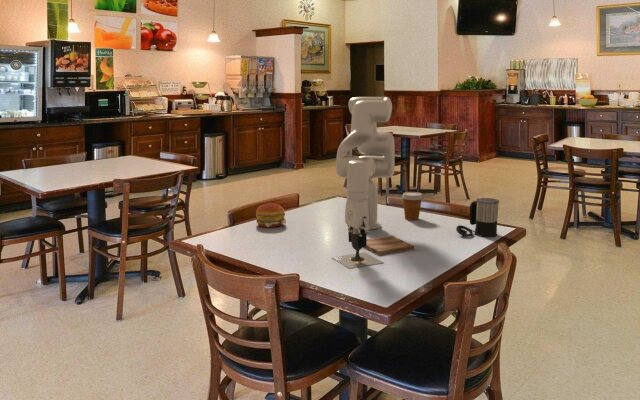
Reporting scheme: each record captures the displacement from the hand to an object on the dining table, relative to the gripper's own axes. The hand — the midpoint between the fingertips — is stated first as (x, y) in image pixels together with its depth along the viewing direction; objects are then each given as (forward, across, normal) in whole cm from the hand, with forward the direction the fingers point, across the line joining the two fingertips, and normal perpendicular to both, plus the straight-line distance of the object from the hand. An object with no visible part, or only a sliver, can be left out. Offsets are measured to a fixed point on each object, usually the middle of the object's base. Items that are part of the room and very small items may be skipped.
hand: (357, 243), depth 207 cm
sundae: (+6, 0, 0) cm, 6 cm away
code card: (+6, 0, 0) cm, 6 cm away
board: (+6, -10, +18) cm, 21 cm away
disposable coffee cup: (+7, -44, +53) cm, 69 cm away
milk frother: (+7, -8, +61) cm, 62 cm away
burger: (+7, -63, -10) cm, 64 cm away
